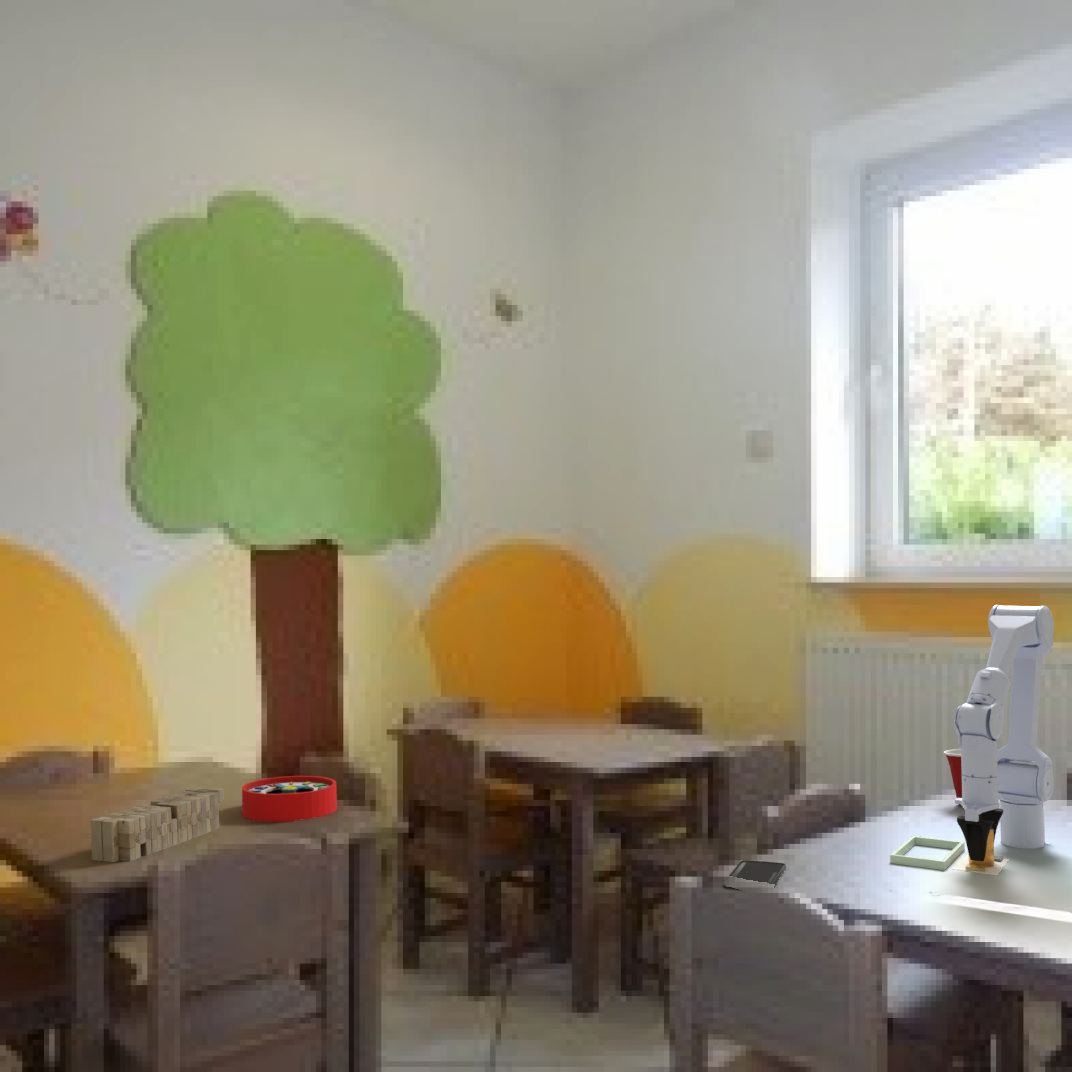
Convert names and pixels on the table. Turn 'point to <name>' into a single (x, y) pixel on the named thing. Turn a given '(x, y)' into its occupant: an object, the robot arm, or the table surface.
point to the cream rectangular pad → (994, 870)
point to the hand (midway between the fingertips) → (981, 855)
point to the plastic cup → (955, 770)
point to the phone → (759, 871)
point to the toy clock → (289, 798)
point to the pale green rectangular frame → (923, 862)
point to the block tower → (155, 825)
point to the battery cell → (987, 853)
